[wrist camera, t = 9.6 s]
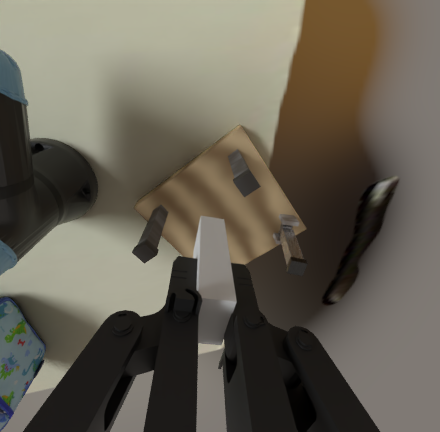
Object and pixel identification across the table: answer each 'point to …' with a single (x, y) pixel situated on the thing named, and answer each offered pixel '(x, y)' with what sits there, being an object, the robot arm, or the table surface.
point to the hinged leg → (291, 251)
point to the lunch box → (16, 357)
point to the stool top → (218, 202)
